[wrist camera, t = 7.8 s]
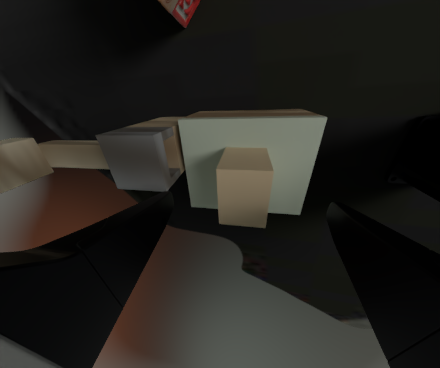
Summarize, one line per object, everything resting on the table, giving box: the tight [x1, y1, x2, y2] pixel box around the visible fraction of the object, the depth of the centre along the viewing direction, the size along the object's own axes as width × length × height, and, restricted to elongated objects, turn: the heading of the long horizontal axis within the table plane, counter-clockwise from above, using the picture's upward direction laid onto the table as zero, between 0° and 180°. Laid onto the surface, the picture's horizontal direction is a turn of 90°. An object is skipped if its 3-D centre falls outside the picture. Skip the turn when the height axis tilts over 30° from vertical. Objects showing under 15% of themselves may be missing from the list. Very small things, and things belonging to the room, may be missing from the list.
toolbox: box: [95, 109, 318, 192], centre depth 14 cm, size 8×14×9 cm, turn 92°
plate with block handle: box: [178, 115, 327, 228], centre depth 11 cm, size 8×10×5 cm
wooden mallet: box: [0, 138, 109, 194], centre depth 12 cm, size 3×10×5 cm, turn 92°
